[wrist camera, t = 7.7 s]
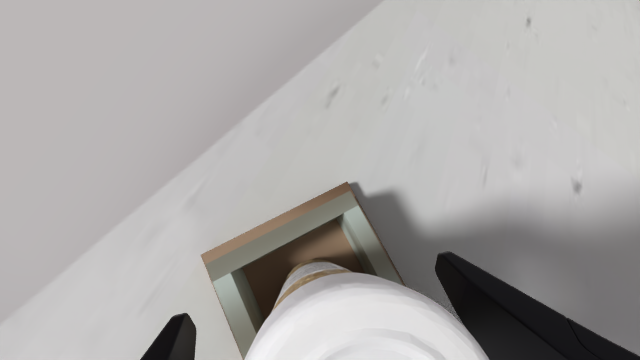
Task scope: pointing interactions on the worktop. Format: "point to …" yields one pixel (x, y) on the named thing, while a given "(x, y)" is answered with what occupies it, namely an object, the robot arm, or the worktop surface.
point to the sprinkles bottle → (357, 320)
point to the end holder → (292, 257)
